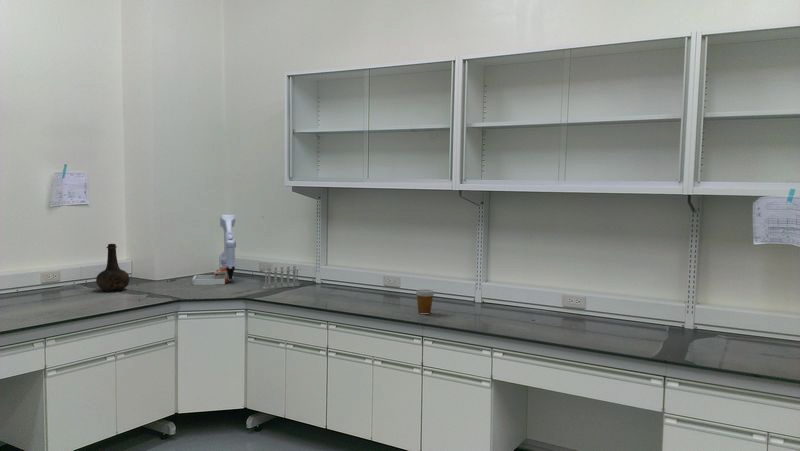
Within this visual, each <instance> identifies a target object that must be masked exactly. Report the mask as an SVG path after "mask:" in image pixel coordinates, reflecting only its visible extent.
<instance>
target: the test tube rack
mask: <svg viewBox="0 0 800 451" xmlns="http://www.w3.org/2000/svg"><path fill="white" fill-rule="evenodd" d="M273 269H274V270H271V267H267V270H262V272H263V273H264V274H265V275H264V276H265V279H264V280H265V281H264V286H262V289H263V290H271V289H281V288H289V287H290V288H291V287H293V288H294V287H300V286H301V283H300V284H299V283H298V282H299V281H298V280H299V271H301V268H296V265H293V266H292V268H290V265H287V266H286V269H285V268H284V266H280V269H278V266H275V267H274V268H273ZM290 271H292V284H290ZM278 272H280V283H279V284H280V285H278ZM284 272H286V284H284ZM271 273H273V279H274V282H273V285H271V281H272V280H271V278H272V276H271V275H272V274H271Z"/></svg>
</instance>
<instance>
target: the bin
mask: <svg viewBox="0 0 800 451" xmlns="http://www.w3.org/2000/svg"><path fill="white" fill-rule="evenodd" d="M191 280H192V281H191V282H192V283H191V285H192V286H209V285H211V286H214V285H215V284H226V283H225V279H215V275H214V274H203V275H202V274H200V275H199V274H198V275H196V274H195V275H194V276H193V277H192V279H191ZM215 286H216V285H215Z"/></svg>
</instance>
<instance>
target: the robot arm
mask: <svg viewBox="0 0 800 451" xmlns="http://www.w3.org/2000/svg"><path fill="white" fill-rule="evenodd" d="M235 223H236V215H235V214H220V215H219V226H220V227H221V228H222V229H223V248H224V249H223V251H222V252H221V253H220V256H219V264H220V265H221V269H222V268H226V270H227V273H228V280H232V279H234V276H235V275H234V272H235V270H236V266H238V264H237V263H236V247H237V245H236V244H237V241H236V238H235V233H234V231H233V228H234V227H235Z"/></svg>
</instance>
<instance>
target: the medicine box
mask: <svg viewBox="0 0 800 451" xmlns="http://www.w3.org/2000/svg"><path fill="white" fill-rule="evenodd" d="M213 271H214V272H213V273H214V274H213V275H215V279H225V284H227V283H228V282H229V279H228V273H227V270H226V268H222V267H221V268H215V269H214V270H213Z"/></svg>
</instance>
